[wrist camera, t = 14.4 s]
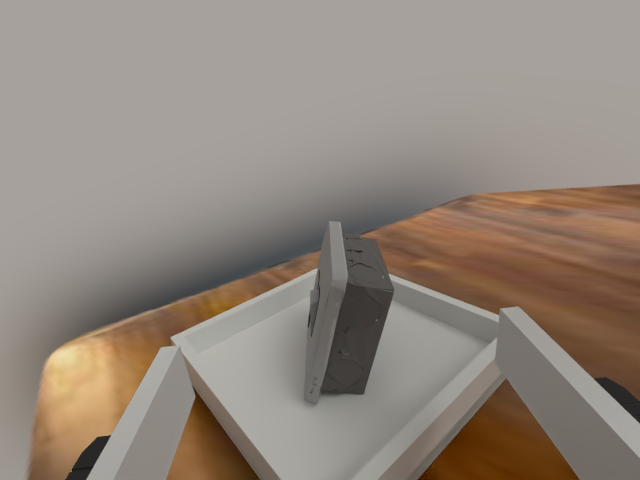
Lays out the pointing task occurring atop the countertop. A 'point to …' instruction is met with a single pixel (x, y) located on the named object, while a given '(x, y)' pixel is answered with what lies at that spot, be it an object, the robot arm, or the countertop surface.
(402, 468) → the white square tray
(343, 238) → the electrical switch
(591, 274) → the countertop surface
